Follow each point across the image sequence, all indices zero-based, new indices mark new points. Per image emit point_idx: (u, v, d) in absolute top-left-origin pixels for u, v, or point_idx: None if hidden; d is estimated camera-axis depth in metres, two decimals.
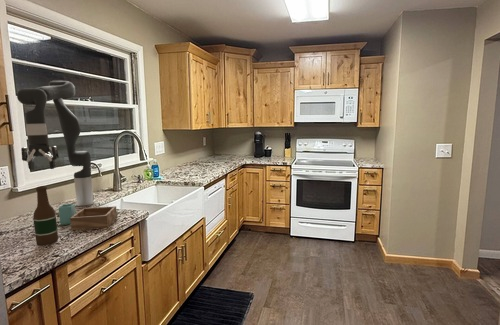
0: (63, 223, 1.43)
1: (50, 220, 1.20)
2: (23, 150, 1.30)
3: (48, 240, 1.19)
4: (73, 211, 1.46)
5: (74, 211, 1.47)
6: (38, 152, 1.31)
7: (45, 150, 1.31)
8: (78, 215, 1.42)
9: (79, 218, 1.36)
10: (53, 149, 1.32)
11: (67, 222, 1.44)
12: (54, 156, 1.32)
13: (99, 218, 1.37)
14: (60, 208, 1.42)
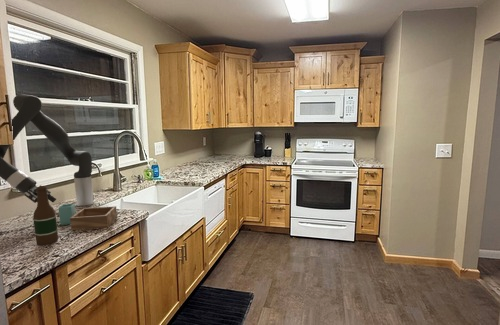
0: (63, 223, 1.43)
1: (50, 220, 1.20)
2: None
3: (48, 240, 1.19)
4: (73, 211, 1.46)
5: (74, 211, 1.47)
6: None
7: None
8: (78, 215, 1.42)
9: (79, 218, 1.36)
10: None
11: (67, 222, 1.44)
12: None
13: (99, 218, 1.37)
14: (60, 208, 1.42)
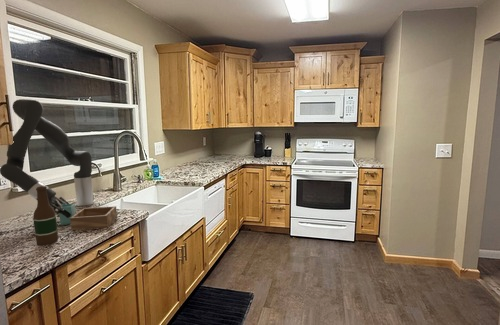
0: (63, 223, 1.43)
1: (50, 220, 1.20)
2: None
3: (48, 240, 1.19)
4: (73, 211, 1.46)
5: (74, 211, 1.47)
6: None
7: None
8: (78, 215, 1.42)
9: (79, 218, 1.36)
10: None
11: (67, 222, 1.44)
12: None
13: (99, 218, 1.37)
14: (60, 208, 1.42)
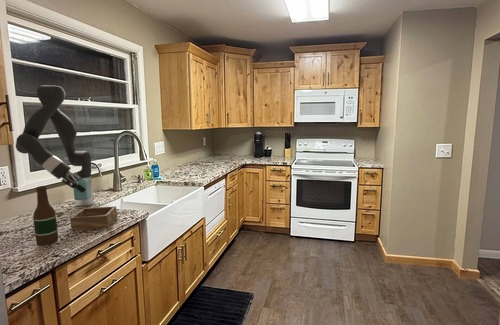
0: (77, 198, 1.40)
1: (50, 220, 1.20)
2: None
3: (48, 240, 1.19)
4: (87, 186, 1.43)
5: (88, 187, 1.44)
6: None
7: None
8: (78, 215, 1.42)
9: (79, 218, 1.36)
10: None
11: (81, 197, 1.40)
12: None
13: (99, 218, 1.37)
14: None
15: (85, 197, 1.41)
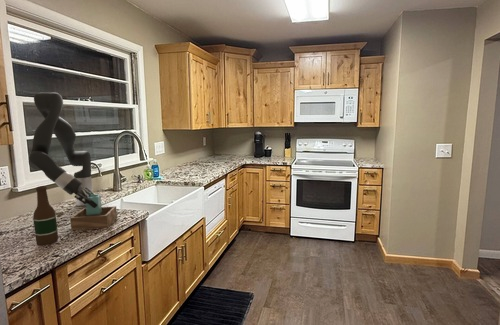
0: (89, 213, 1.41)
1: (50, 220, 1.20)
2: None
3: (48, 240, 1.19)
4: (99, 201, 1.44)
5: (100, 202, 1.45)
6: None
7: None
8: (78, 215, 1.42)
9: (79, 218, 1.36)
10: None
11: (93, 212, 1.41)
12: None
13: (99, 218, 1.37)
14: None
15: (97, 212, 1.42)
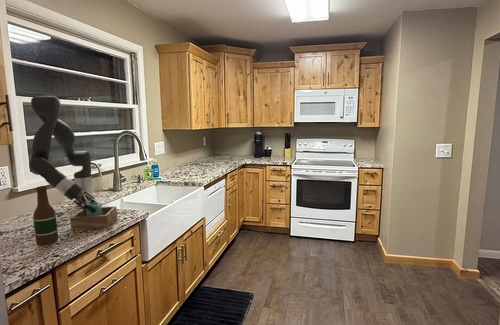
0: None
1: (50, 220, 1.20)
2: None
3: (48, 240, 1.19)
4: (100, 210, 1.44)
5: (100, 210, 1.46)
6: None
7: None
8: (78, 215, 1.42)
9: (79, 218, 1.36)
10: None
11: None
12: None
13: (99, 218, 1.37)
14: None
15: None
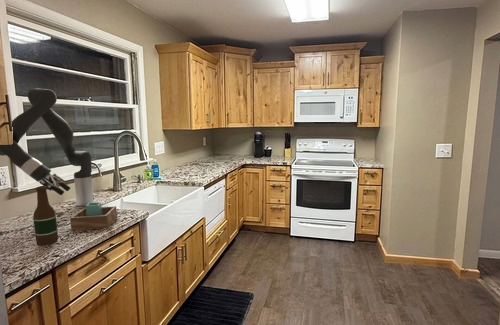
0: None
1: (50, 220, 1.20)
2: None
3: (48, 240, 1.19)
4: (100, 210, 1.44)
5: (100, 210, 1.46)
6: None
7: None
8: (78, 215, 1.42)
9: (79, 218, 1.36)
10: None
11: None
12: None
13: (99, 218, 1.37)
14: (87, 206, 1.40)
15: None
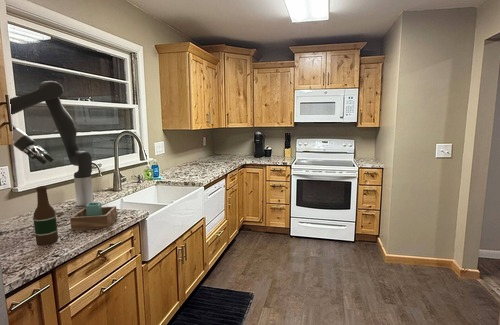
0: None
1: (50, 220, 1.20)
2: None
3: (48, 240, 1.19)
4: (100, 210, 1.44)
5: (100, 210, 1.46)
6: None
7: None
8: (78, 215, 1.42)
9: (79, 218, 1.36)
10: None
11: None
12: None
13: (99, 218, 1.37)
14: (87, 206, 1.40)
15: None
